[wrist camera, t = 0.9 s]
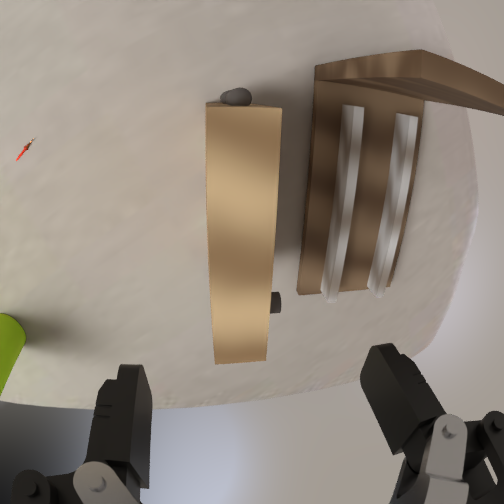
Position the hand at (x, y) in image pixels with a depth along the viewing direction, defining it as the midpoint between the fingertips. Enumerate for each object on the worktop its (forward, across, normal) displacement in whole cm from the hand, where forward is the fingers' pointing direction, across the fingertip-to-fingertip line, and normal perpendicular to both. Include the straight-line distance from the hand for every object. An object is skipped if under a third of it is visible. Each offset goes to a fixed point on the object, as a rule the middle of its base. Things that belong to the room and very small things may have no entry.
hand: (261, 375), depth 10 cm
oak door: (+22, 0, 0) cm, 22 cm away
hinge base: (+22, -14, 0) cm, 26 cm away
